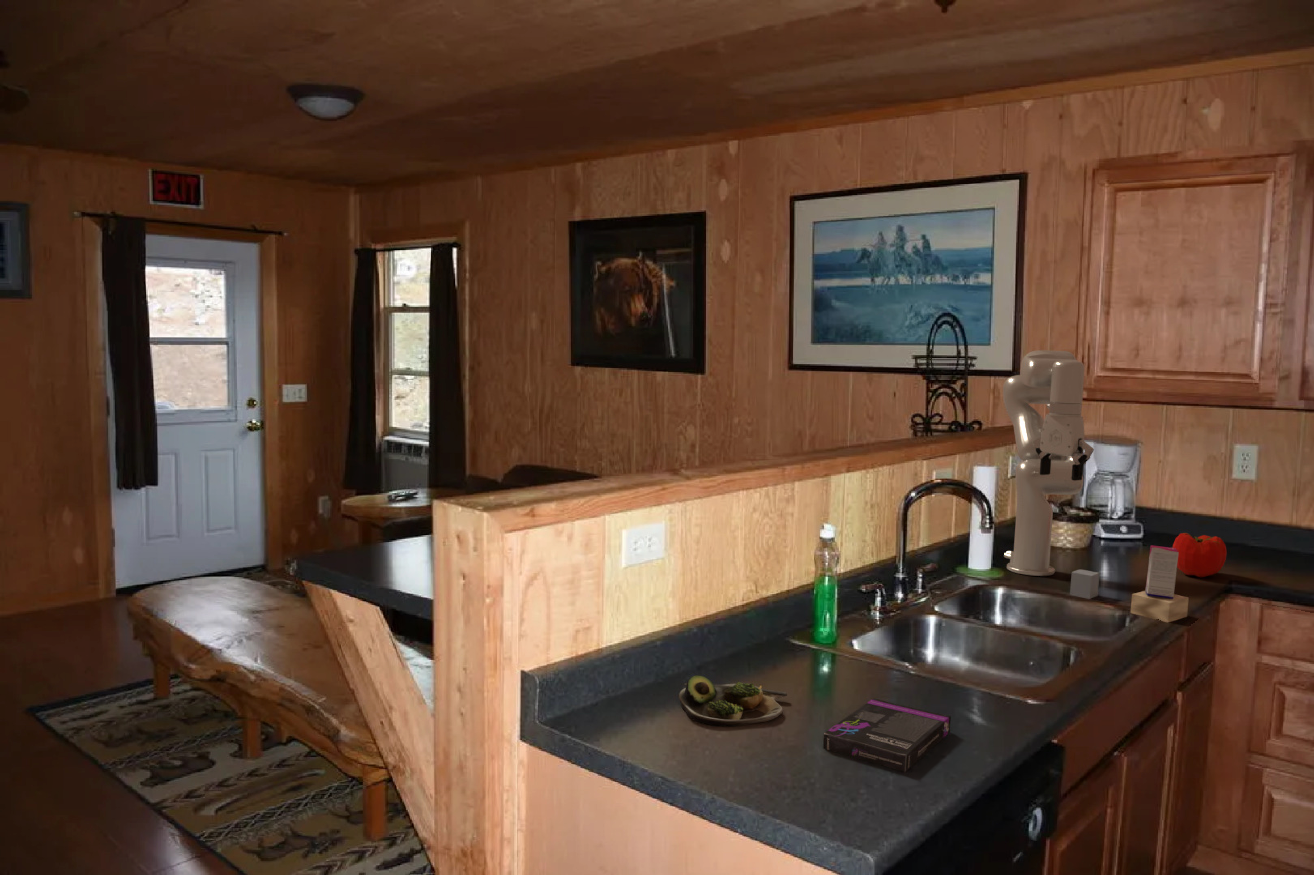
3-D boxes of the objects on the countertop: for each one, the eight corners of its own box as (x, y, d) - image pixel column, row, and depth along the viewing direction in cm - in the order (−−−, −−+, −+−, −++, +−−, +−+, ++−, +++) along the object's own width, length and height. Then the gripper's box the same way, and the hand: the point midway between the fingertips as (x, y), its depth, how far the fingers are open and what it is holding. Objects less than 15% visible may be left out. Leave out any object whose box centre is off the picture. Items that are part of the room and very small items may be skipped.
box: (872, 717, 173) (820, 751, 158) (873, 697, 173) (821, 729, 157) (951, 736, 165) (905, 775, 149) (952, 715, 165) (906, 752, 149)
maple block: (1130, 614, 240) (1132, 594, 240) (1149, 608, 246) (1151, 589, 245) (1167, 623, 233) (1169, 603, 233) (1186, 618, 238) (1188, 597, 238)
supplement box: (1174, 599, 235) (1178, 551, 234) (1146, 596, 238) (1151, 548, 236) (1172, 594, 241) (1176, 547, 239) (1144, 590, 243) (1149, 544, 242)
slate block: (1069, 595, 256) (1071, 572, 255) (1078, 591, 259) (1079, 569, 259) (1089, 599, 252) (1091, 575, 252) (1097, 595, 256) (1099, 572, 255)
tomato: (1173, 577, 277) (1177, 536, 276) (1168, 566, 290) (1172, 527, 289) (1228, 583, 272) (1231, 541, 271) (1220, 572, 285) (1224, 531, 284)
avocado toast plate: (771, 687, 185) (772, 662, 184) (807, 724, 168) (808, 698, 167) (670, 693, 181) (670, 668, 180) (695, 732, 163) (696, 705, 163)
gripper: (1027, 407, 256) (1022, 473, 258) (1084, 413, 241) (1079, 483, 243) (1047, 406, 260) (1043, 471, 262) (1105, 412, 245) (1099, 481, 247)
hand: (1060, 477), depth 253 cm, fingers open, 9 cm apart
